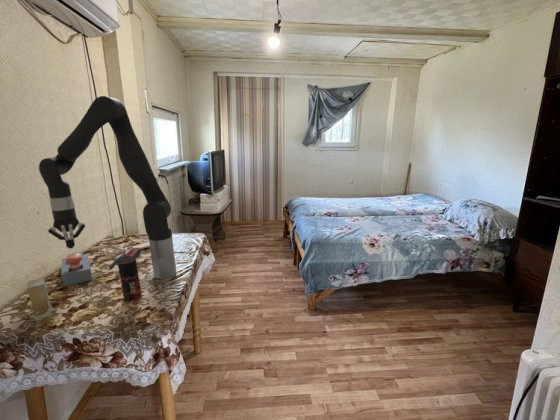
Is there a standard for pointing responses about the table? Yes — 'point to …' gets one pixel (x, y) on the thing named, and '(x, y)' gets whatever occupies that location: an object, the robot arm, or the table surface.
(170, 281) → the table surface
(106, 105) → the robot arm
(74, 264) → the red plunger
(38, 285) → the skincare box
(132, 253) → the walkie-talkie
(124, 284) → the deodorant
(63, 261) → the press block
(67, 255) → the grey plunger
